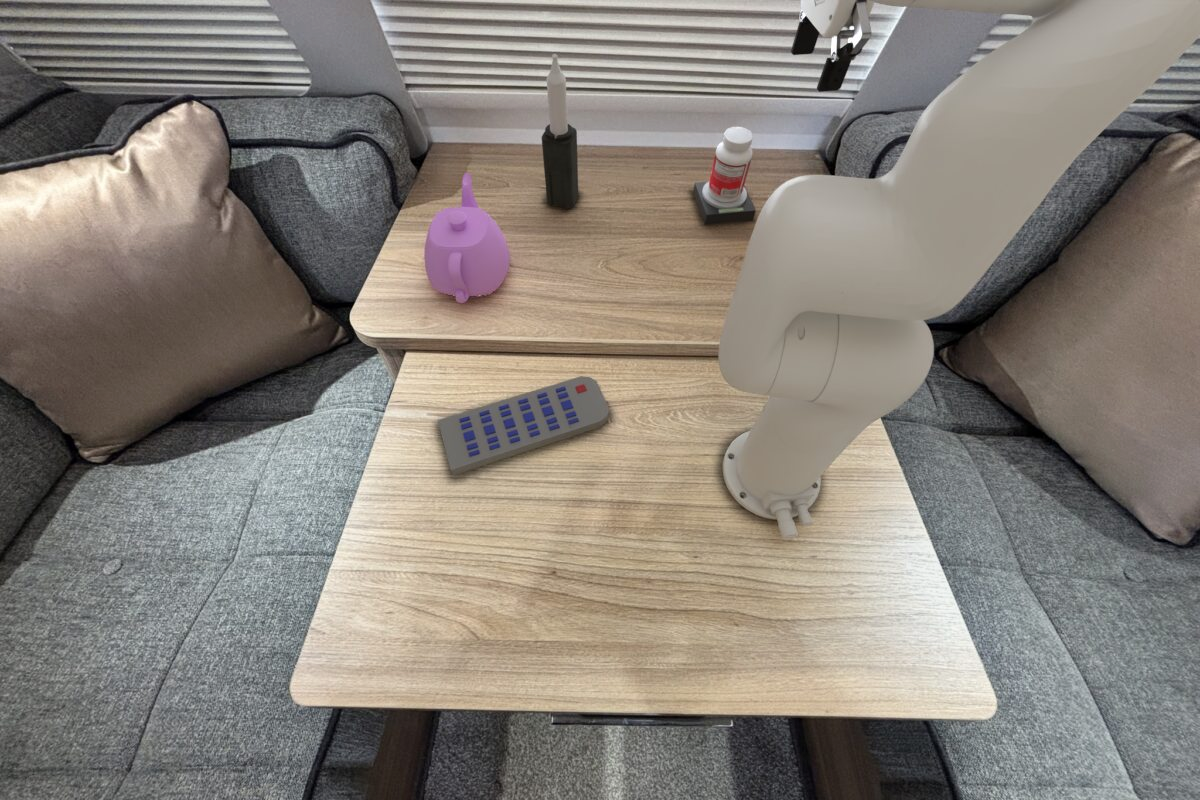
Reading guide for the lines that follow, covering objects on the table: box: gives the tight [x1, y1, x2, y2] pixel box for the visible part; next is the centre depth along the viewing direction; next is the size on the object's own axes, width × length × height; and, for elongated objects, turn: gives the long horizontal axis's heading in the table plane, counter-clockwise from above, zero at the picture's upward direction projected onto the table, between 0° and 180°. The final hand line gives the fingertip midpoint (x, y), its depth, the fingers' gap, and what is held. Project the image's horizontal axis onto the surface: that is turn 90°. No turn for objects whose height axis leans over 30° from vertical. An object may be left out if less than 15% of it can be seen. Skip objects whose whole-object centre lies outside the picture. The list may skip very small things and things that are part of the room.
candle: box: [541, 53, 579, 210], centre depth 88 cm, size 5×5×25 cm
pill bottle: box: [708, 126, 754, 202], centre depth 91 cm, size 6×6×11 cm
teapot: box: [423, 172, 511, 304], centre depth 84 cm, size 20×13×12 cm, turn 1°
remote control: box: [437, 375, 611, 476], centre depth 73 cm, size 8×23×2 cm, turn 111°
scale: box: [692, 181, 757, 226], centre depth 97 cm, size 9×9×3 cm
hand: (814, 71), depth 74 cm, fingers open, 9 cm apart
